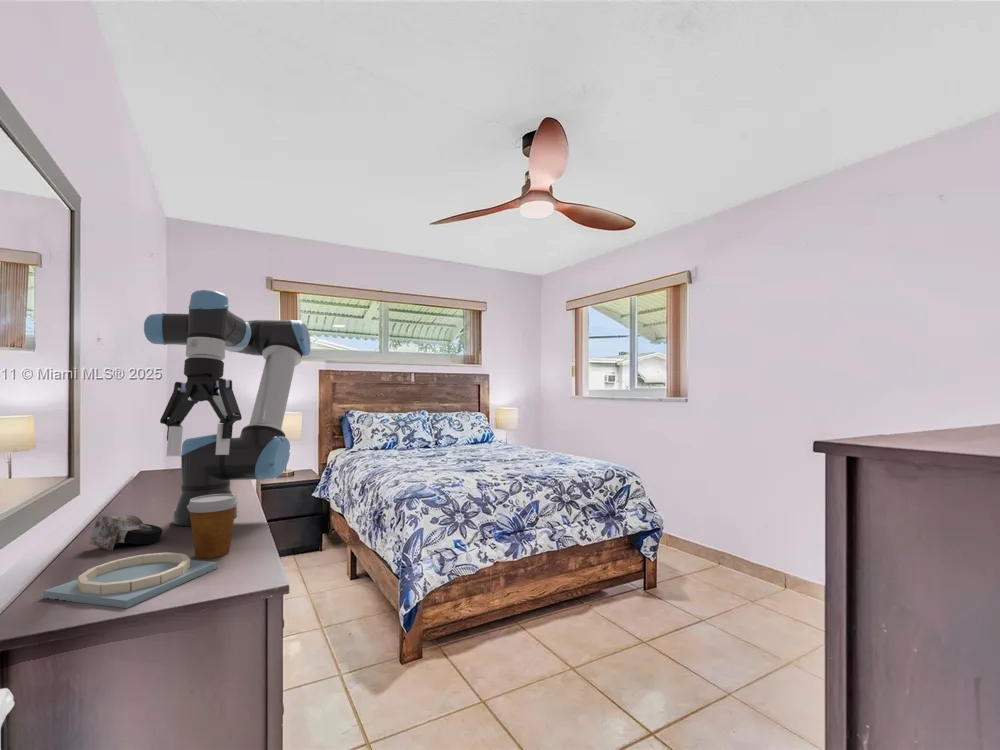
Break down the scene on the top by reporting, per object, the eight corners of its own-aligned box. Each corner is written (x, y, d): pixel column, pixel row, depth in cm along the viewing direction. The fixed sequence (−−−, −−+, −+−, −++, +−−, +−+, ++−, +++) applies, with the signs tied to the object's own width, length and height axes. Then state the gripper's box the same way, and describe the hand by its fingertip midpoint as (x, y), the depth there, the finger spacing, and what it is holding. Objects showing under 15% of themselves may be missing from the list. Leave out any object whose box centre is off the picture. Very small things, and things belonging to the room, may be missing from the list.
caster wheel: (165, 549, 115) (126, 557, 105) (127, 537, 117) (86, 543, 108) (174, 521, 116) (136, 526, 106) (136, 509, 118) (96, 513, 109)
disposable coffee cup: (247, 549, 106) (248, 494, 107) (207, 564, 98) (207, 504, 98) (217, 545, 110) (217, 492, 110) (175, 558, 101) (176, 500, 102)
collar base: (144, 561, 99) (144, 548, 99) (217, 568, 95) (217, 554, 95) (43, 598, 82) (43, 582, 82) (126, 608, 78) (126, 591, 78)
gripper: (146, 360, 108) (137, 456, 104) (235, 351, 101) (228, 454, 97) (177, 366, 115) (169, 456, 112) (263, 358, 108) (257, 454, 104)
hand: (197, 455), depth 104 cm, fingers open, 13 cm apart
